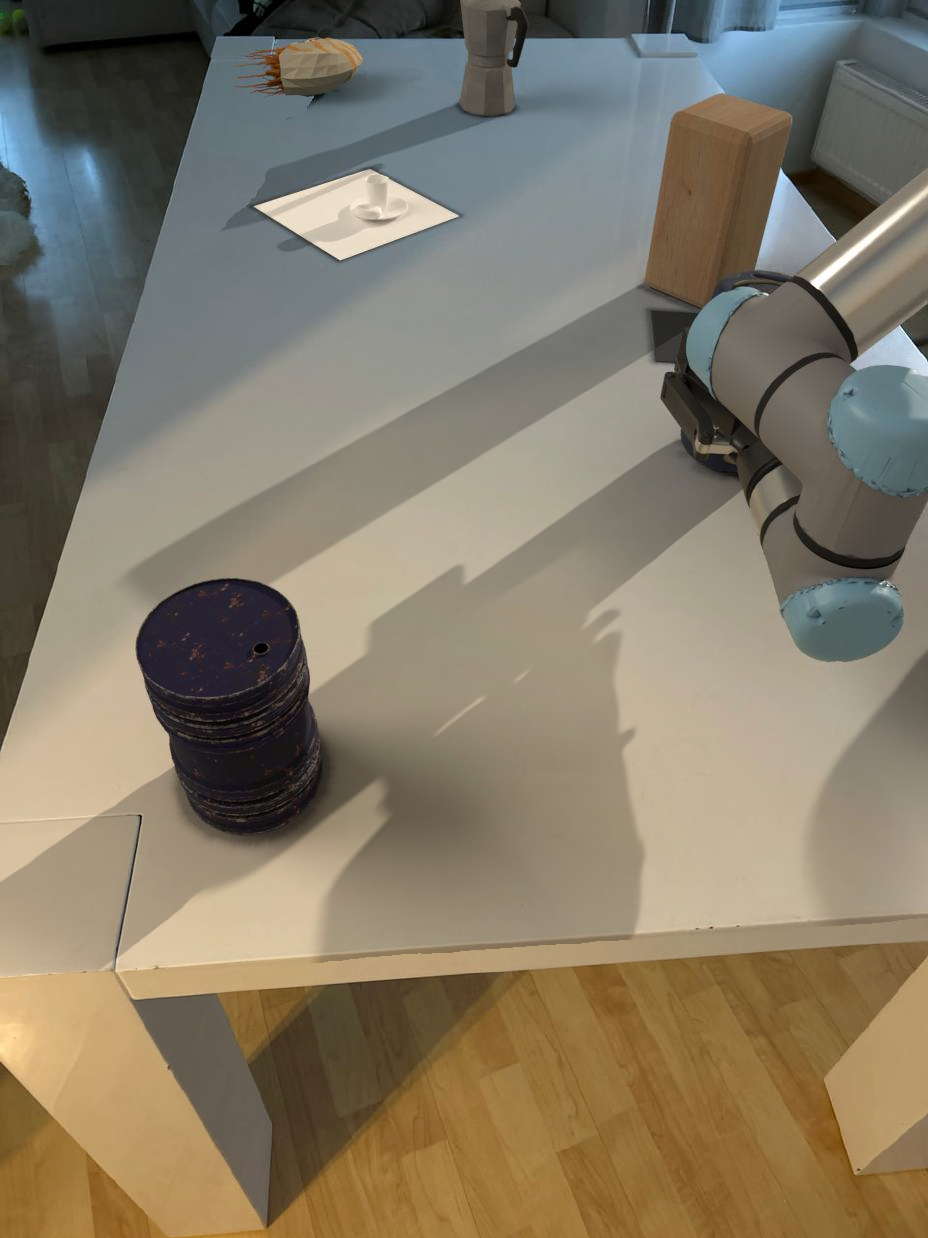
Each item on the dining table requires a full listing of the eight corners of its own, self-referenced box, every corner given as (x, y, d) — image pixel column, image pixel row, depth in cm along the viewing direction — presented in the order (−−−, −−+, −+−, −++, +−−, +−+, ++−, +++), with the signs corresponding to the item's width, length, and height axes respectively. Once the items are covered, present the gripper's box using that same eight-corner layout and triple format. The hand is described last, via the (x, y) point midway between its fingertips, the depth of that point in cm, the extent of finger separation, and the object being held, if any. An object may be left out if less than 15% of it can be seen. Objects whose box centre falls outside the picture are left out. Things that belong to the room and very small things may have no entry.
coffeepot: (440, 100, 158) (440, -28, 145) (485, 88, 162) (489, -37, 149) (498, 129, 150) (503, -3, 136) (543, 116, 154) (553, -13, 140)
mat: (765, 369, 104) (765, 367, 104) (655, 363, 105) (656, 360, 105) (752, 318, 112) (753, 315, 112) (650, 312, 112) (651, 310, 112)
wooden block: (640, 286, 116) (668, 111, 102) (686, 258, 121) (719, 88, 107) (709, 315, 112) (749, 136, 97) (754, 285, 117) (798, 111, 102)
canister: (703, 410, 99) (744, 242, 85) (789, 444, 95) (845, 274, 82) (660, 455, 93) (696, 284, 80) (749, 493, 90) (803, 319, 76)
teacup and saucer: (368, 230, 125) (366, 199, 122) (333, 209, 129) (330, 179, 126) (419, 211, 129) (419, 181, 126) (383, 192, 133) (382, 162, 130)
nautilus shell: (234, 111, 154) (242, 84, 165) (366, 101, 155) (365, 74, 165) (223, 56, 149) (232, 32, 159) (359, 45, 149) (359, 22, 160)
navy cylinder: (155, 808, 65) (98, 669, 54) (229, 703, 72) (190, 560, 61) (283, 855, 63) (250, 721, 52) (348, 743, 69) (330, 601, 58)
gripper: (648, 526, 77) (617, 373, 93) (917, 528, 78) (842, 376, 93) (664, 452, 72) (628, 302, 87) (953, 455, 72) (867, 305, 87)
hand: (738, 340), depth 90 cm, fingers closed on canister, 9 cm apart
